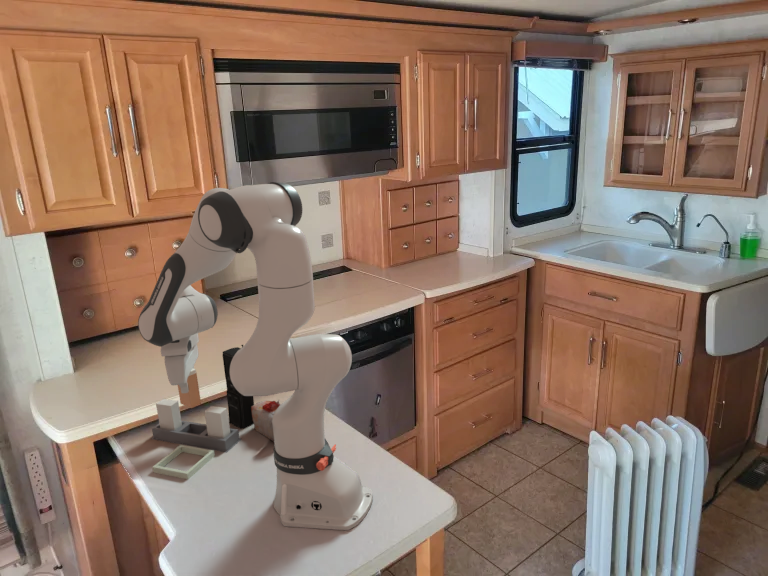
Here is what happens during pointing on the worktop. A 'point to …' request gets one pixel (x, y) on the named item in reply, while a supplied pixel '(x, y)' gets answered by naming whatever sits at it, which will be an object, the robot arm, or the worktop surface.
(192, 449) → the tray
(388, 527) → the worktop surface
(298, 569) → the worktop surface
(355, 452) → the worktop surface
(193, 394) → the block
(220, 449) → the fuse block
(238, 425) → the portable radio
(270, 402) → the food item
